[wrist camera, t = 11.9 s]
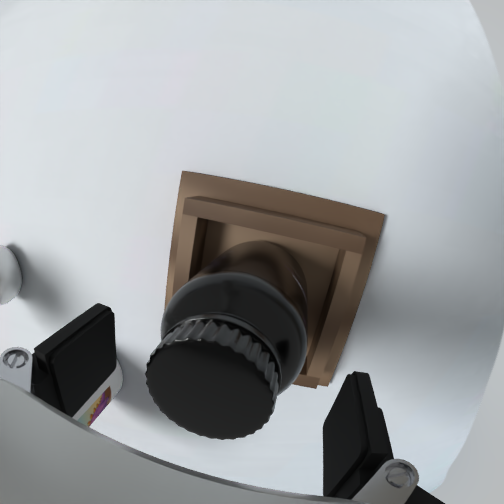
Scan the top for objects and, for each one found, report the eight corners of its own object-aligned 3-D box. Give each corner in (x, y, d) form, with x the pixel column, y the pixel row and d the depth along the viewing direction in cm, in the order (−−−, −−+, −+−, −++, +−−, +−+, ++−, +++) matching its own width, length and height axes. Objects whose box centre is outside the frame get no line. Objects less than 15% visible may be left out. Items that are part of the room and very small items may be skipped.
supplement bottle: (327, 280, 20) (351, 395, 8) (266, 346, 22) (232, 475, 10) (247, 216, 20) (173, 265, 8) (192, 290, 22) (99, 386, 10)
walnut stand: (185, 171, 20) (166, 170, 18) (382, 213, 19) (396, 219, 16) (164, 341, 24) (149, 359, 21) (327, 382, 23) (329, 406, 20)
